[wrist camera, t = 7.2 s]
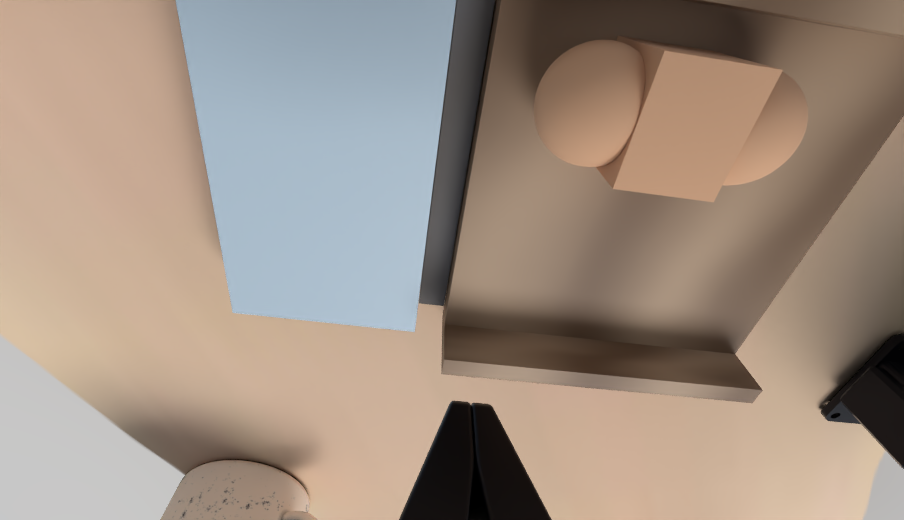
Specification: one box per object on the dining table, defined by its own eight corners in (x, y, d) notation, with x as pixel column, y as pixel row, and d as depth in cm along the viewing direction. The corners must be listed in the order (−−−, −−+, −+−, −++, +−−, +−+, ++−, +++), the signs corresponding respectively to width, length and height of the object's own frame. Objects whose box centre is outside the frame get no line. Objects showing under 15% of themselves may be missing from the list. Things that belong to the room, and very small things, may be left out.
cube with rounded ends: (782, 62, 12) (873, 84, 10) (726, 169, 14) (791, 213, 11) (540, 22, 12) (568, 35, 9) (514, 139, 14) (530, 178, 11)
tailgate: (464, -67, 11) (153, -123, 10) (414, 331, 18) (232, 312, 18) (463, -63, 12) (178, -114, 11) (416, 314, 19) (243, 296, 18)
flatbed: (924, -39, 13) (1115, -46, 9) (687, 347, 22) (736, 422, 18) (472, -125, 12) (482, -173, 8) (416, 319, 21) (409, 393, 17)
